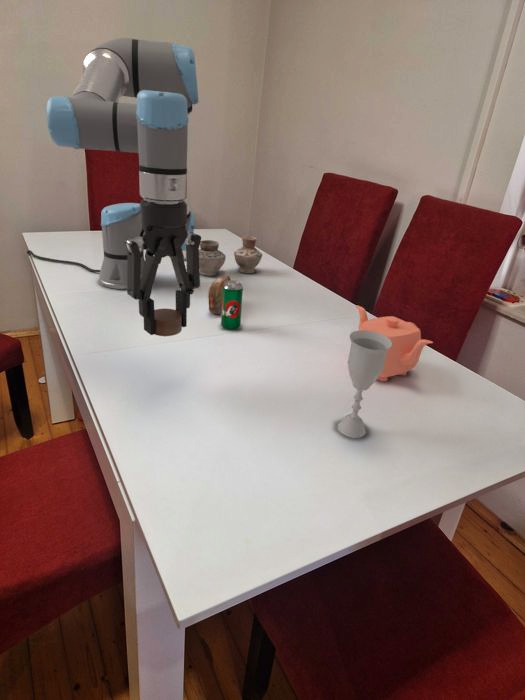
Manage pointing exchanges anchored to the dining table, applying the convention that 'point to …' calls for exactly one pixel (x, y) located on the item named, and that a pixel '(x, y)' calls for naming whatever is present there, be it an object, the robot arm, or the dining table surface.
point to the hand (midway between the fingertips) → (165, 327)
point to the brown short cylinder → (167, 322)
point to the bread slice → (216, 294)
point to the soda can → (231, 304)
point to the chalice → (363, 374)
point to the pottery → (215, 259)
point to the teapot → (395, 342)
